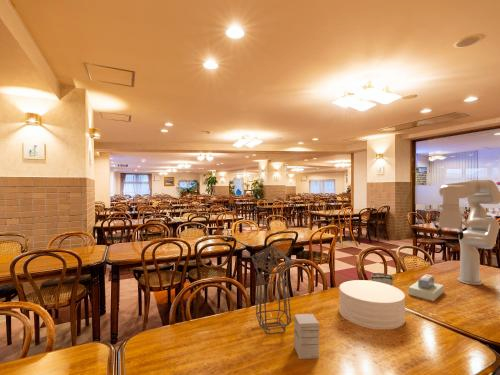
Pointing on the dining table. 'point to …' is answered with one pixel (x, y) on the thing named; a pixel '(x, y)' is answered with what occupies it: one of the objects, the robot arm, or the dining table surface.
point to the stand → (426, 291)
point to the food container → (382, 278)
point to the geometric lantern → (272, 282)
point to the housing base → (426, 284)
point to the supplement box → (306, 336)
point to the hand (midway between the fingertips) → (450, 237)
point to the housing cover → (427, 277)
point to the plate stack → (372, 304)
